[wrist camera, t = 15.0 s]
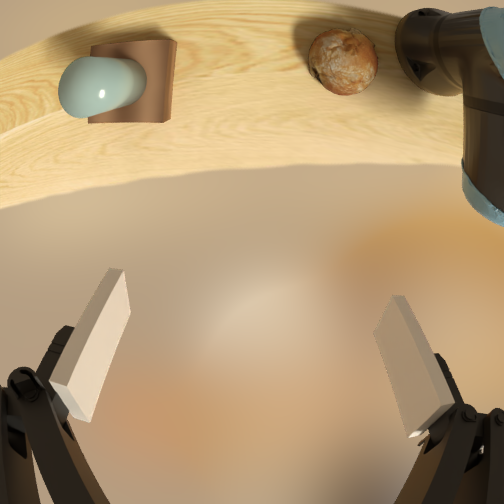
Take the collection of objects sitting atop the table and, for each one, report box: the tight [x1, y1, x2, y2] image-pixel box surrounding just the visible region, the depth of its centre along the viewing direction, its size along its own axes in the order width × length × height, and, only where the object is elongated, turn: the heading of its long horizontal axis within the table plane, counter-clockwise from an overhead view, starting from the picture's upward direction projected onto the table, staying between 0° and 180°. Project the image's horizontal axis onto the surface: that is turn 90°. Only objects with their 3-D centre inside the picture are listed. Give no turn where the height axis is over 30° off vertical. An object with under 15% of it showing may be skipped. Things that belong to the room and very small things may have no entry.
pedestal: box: [88, 39, 177, 123], centre depth 36 cm, size 12×12×4 cm
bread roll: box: [308, 29, 378, 95], centre depth 35 cm, size 10×10×8 cm
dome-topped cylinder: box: [58, 57, 147, 118], centre depth 30 cm, size 7×7×11 cm
